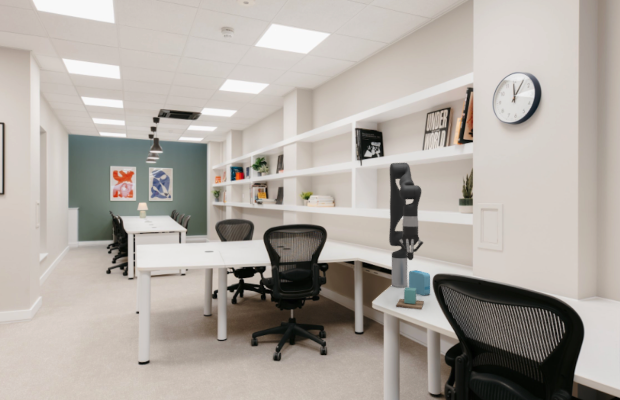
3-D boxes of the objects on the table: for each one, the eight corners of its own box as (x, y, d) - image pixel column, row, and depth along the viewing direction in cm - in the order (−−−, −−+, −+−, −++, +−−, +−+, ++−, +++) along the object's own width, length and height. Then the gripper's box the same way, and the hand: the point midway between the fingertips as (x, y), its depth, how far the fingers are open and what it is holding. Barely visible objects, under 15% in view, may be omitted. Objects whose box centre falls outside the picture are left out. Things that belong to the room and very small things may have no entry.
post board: (399, 300, 197) (399, 286, 197) (423, 302, 193) (423, 288, 192) (396, 306, 186) (396, 291, 186) (421, 309, 181) (421, 294, 181)
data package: (430, 295, 207) (430, 273, 207) (424, 296, 205) (424, 274, 205) (414, 290, 218) (414, 269, 218) (408, 291, 216) (408, 270, 216)
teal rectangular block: (405, 300, 193) (405, 287, 192) (416, 301, 191) (416, 288, 191) (404, 302, 188) (404, 289, 188) (415, 304, 186) (415, 290, 186)
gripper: (424, 225, 190) (424, 259, 190) (398, 224, 195) (398, 257, 195) (423, 226, 183) (423, 261, 183) (395, 225, 188) (395, 260, 188)
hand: (410, 259), depth 189 cm, fingers closed
